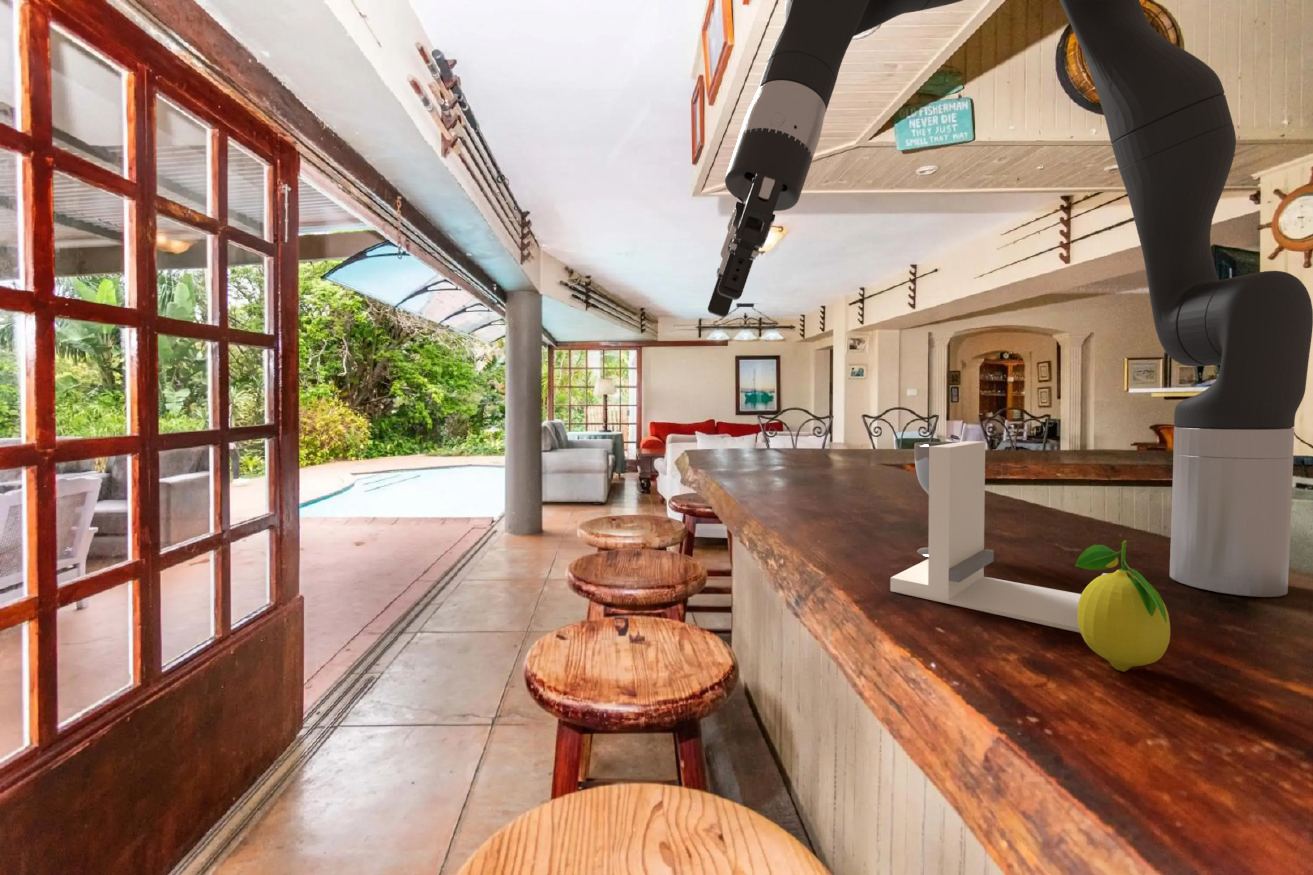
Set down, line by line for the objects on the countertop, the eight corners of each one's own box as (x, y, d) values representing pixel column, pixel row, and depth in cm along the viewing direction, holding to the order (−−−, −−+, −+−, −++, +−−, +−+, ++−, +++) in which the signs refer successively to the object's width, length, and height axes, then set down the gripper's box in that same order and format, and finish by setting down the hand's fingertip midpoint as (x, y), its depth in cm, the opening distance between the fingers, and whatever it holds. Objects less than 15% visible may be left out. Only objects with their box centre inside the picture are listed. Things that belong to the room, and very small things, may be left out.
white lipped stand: (929, 570, 71) (930, 440, 70) (1121, 605, 58) (1125, 445, 57) (890, 590, 63) (890, 445, 63) (1100, 637, 50) (1105, 453, 49)
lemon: (1073, 645, 49) (1076, 527, 48) (1166, 663, 45) (1170, 536, 44) (1066, 674, 43) (1069, 543, 43) (1171, 698, 40) (1175, 554, 39)
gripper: (835, 123, 49) (773, 304, 50) (793, 190, 64) (745, 330, 64) (752, 94, 49) (691, 275, 50) (728, 167, 64) (681, 308, 64)
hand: (721, 306), depth 57 cm, fingers open, 8 cm apart
